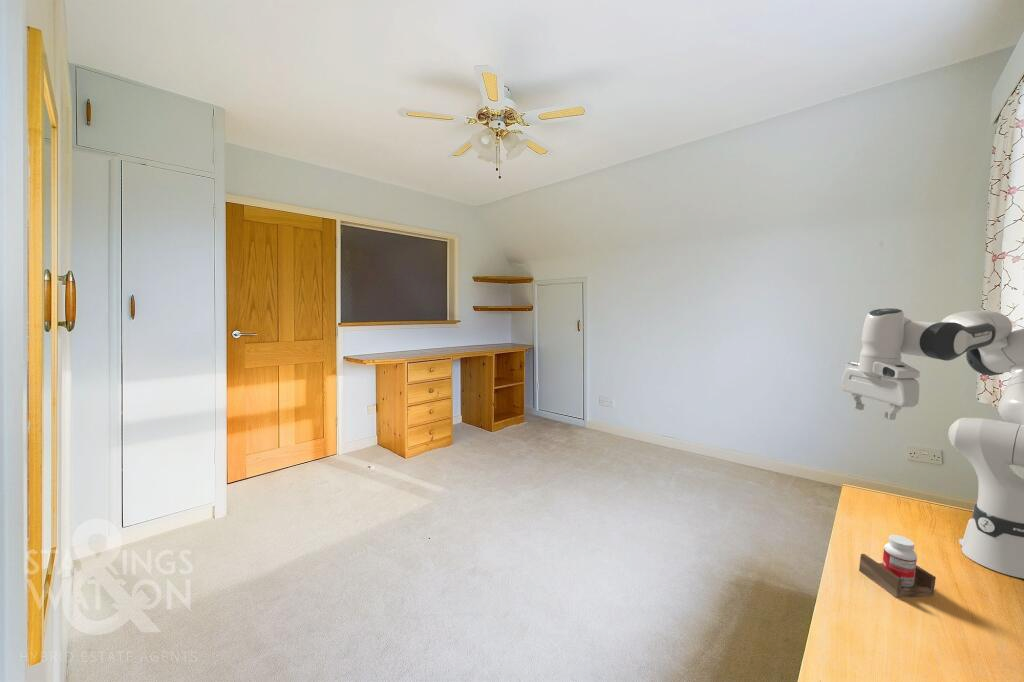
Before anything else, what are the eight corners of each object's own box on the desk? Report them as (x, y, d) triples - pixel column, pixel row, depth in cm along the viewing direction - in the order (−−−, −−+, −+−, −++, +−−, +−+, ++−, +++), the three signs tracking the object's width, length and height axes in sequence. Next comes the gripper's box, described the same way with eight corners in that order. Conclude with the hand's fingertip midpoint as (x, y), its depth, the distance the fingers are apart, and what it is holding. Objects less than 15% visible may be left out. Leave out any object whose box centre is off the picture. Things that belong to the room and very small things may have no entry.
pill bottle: (885, 569, 112) (890, 530, 110) (916, 582, 107) (921, 541, 105) (877, 578, 108) (881, 537, 107) (909, 592, 103) (914, 550, 102)
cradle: (893, 568, 113) (895, 551, 113) (933, 595, 103) (935, 577, 103) (858, 570, 112) (860, 553, 112) (896, 597, 103) (898, 579, 102)
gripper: (837, 360, 129) (832, 404, 131) (904, 373, 109) (898, 425, 110) (856, 360, 129) (851, 404, 131) (927, 373, 109) (920, 424, 111)
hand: (873, 414), depth 121 cm, fingers open, 8 cm apart
